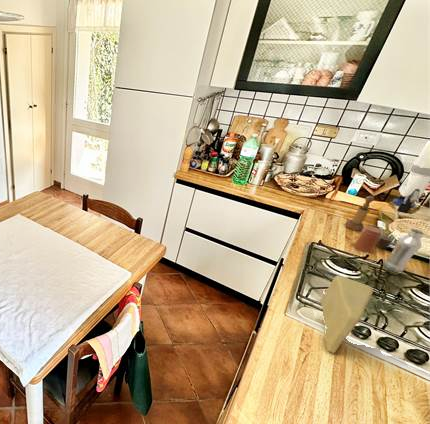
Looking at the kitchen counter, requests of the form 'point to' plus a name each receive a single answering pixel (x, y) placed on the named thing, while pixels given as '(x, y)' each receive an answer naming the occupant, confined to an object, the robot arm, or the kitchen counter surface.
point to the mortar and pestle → (360, 215)
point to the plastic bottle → (403, 251)
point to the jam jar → (368, 239)
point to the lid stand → (384, 242)
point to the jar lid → (399, 201)
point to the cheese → (343, 309)
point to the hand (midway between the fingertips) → (400, 208)
